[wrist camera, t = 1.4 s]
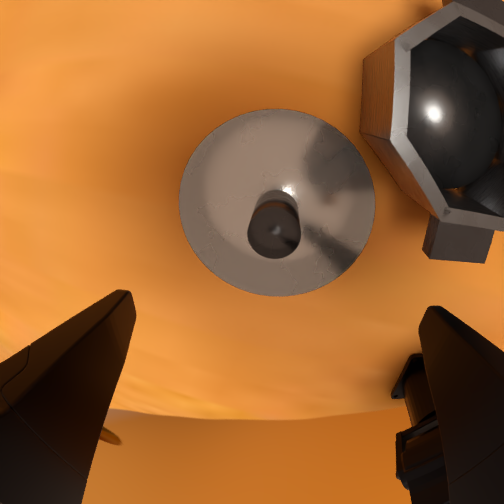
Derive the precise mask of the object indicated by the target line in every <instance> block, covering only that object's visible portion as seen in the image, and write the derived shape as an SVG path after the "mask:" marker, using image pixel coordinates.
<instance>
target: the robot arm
mask: <svg viewBox="0 0 504 504" xmlns="http://www.w3.org/2000/svg"><path fill="white" fill-rule="evenodd" d="M135 321H136V310H135V305H134V301H133V297H132V294H131V292H130V291H128V290H120V289H118V290H116V291H114V292H112V293H111V294H109V295H107V296H106V297H104V298H102V299H101V300H99V301H98V302H96V303H94V304H93V305H91V306H89V307H88V308H86V309H85V310H83V311H81V312H80V313H78V314H77V315H75V316H73V317H72V318H70V319H69V320H67V321H65V322H64V323H62V324H61V325H59V326H58V327H56V328H54V329H53V330H51V331H50V332H48V333H47V334H45V335H44V336H42V337H41V338H39V339H37V340H36V341H34V342H33V343H31V345H28V346H27V347H25V348H24V349H22V350H21V351H19V352H18V353H16V354H14V355H13V356H11V357H10V358H8V359H6V360H5V361H3V362H1V363H0V504H81V503H82V499H83V495H84V491H85V487H86V483H87V478H88V475H89V471H90V468H91V464H92V460H93V457H94V453H95V450H96V447H97V443H98V440H99V437H100V433H101V430H102V427H103V424H104V421H105V418H106V415H107V412H108V409H109V406H110V403H111V400H112V397H113V394H114V391H115V388H116V385H117V382H118V380H119V377H120V374H121V371H122V369H123V366H124V363H125V359H126V356H127V352H128V348H129V344H130V340H131V336H132V332H133V328H134V325H135ZM419 337H420V342H421V347H422V352H423V354H414V355H412V356H411V357H410V358H409V360H408V362H407V364H406V366H405V368H404V370H403V372H402V374H401V376H400V378H399V380H398V382H397V384H396V385H395V387H394V389H393V391H392V393H391V398H392V399H401V398H404V399H405V403H406V406H407V410H408V413H409V417H410V421H411V425H412V427H411V428H409V429H407V430H405V431H403V432H399V433H397V434H396V478H397V479H399V480H401V482H402V484H403V486H404V487H405V488H406V489H407V490H409V491H410V496H411V501H412V504H504V352H503V351H502V350H501V349H499V348H498V347H497V346H495V345H494V344H493V343H491V342H490V341H489V340H487V339H486V338H485V337H483V336H482V335H481V334H479V333H478V332H476V331H475V330H474V329H472V328H471V327H470V326H468V325H467V324H465V323H464V322H463V321H461V320H460V319H458V318H457V317H456V316H454V315H453V314H451V313H450V312H449V311H447V310H446V309H444V308H443V307H441V306H429V307H428V308H427V310H426V312H425V314H424V316H423V318H422V321H421V323H420V325H419Z"/></svg>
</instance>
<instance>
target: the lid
mask: <svg viewBox="0 0 504 504" xmlns="http://www.w3.org/2000/svg"><path fill="white" fill-rule="evenodd" d="M179 211H180V218H181V222H182V226H183V230H184V232H185V235H186V237H187V240H188V242H189V244H190V245H191V247H192V249H193V251H194V252H195V254H196V255H197V256H198V258H199V259H200V260H201V261H202V262H203V264H204V265H205V266H206V267H207V268H208V269H209V270H210V271H212V272H213V273H214V274H215V275H216V276H218V277H219V278H221V279H222V280H224V281H225V282H227V283H229V284H231V285H233V286H235V287H237V288H239V289H242V290H244V291H247V292H251V293H255V294H259V295H266V296H292V295H298V294H303V293H307V292H310V291H313V290H316V289H318V288H320V287H322V286H324V285H326V284H328V283H330V282H331V281H333V280H335V279H336V278H337V277H339V276H340V275H341V274H342V273H344V272H345V271H346V270H347V269H348V268H349V267H350V266H351V265H352V264H353V263H354V261H355V260H356V259H357V257H358V256H359V255H360V253H361V252H362V250H363V248H364V246H365V245H366V243H367V240H368V238H369V235H370V233H371V229H372V225H373V221H374V214H375V193H374V188H373V182H372V179H371V176H370V173H369V170H368V168H367V166H366V164H365V162H364V160H363V158H362V156H361V155H360V153H359V152H358V150H357V149H356V148H355V146H354V145H353V144H352V143H351V142H350V141H349V140H348V139H347V137H346V136H344V135H343V134H342V133H341V132H340V131H338V130H337V129H336V128H335V127H333V126H331V125H330V124H328V123H326V122H325V121H323V120H321V119H319V118H316V117H314V116H312V115H309V114H305V113H302V112H298V111H293V110H285V109H266V110H259V111H253V112H249V113H246V114H243V115H240V116H237V117H235V118H233V119H231V120H229V121H227V122H225V123H224V124H222V125H221V126H219V127H217V128H216V129H215V130H214V131H212V132H211V133H210V134H209V135H208V136H207V137H206V138H205V139H204V140H203V141H202V142H201V143H200V144H199V146H198V147H197V148H196V150H195V151H194V153H193V154H192V156H191V157H190V159H189V161H188V163H187V166H186V168H185V170H184V173H183V177H182V180H181V185H180V191H179Z"/></svg>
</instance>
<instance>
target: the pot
mask: <svg viewBox="0 0 504 504" xmlns="http://www.w3.org/2000/svg"><path fill="white" fill-rule="evenodd" d="M442 4H443V7H442V8H441V9H439V10H437V11H435V12H434V13H432V14H430V15H429V16H427V17H425V18H424V19H422V20H420V21H419V22H417V23H415V24H414V25H412V26H410V27H409V28H407V29H406V30H404V31H403V32H402V33H400V34H399V35H397V36H396V37H394V38H393V39H391V40H390V41H388V42H387V43H386V44H384V45H383V46H381V47H380V48H378V49H377V50H376V51H374V52H373V53H372V54H370V55H369V56H367V57H366V58H365V59H364V60H363V83H362V104H361V119H360V134H361V135H362V136H363V138H364V139H365V140H366V141H367V143H368V144H369V145H370V147H371V148H372V149H373V151H374V152H375V153H376V155H377V156H378V157H379V159H380V160H381V162H382V163H383V164H384V166H385V167H386V169H387V170H388V171H389V173H390V174H391V176H392V177H393V179H394V180H395V182H396V183H397V185H398V186H399V188H400V189H401V191H403V192H404V193H405V194H407V195H408V196H409V197H411V198H412V199H413V200H415V201H416V202H417V203H418V204H420V205H421V206H422V207H424V208H425V209H426V210H427V211H429V212H430V218H429V223H428V227H427V231H426V235H425V240H424V243H423V247H422V250H423V252H424V253H425V254H426V255H427V256H428V258H429V259H437V260H449V261H460V262H472V263H484V264H485V261H486V258H487V254H488V251H489V248H490V245H491V241H492V238H493V234H494V231H495V230H497V231H504V2H503V1H502V0H442ZM425 39H427V40H425ZM453 188H458V189H457V190H456V189H453Z"/></svg>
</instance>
